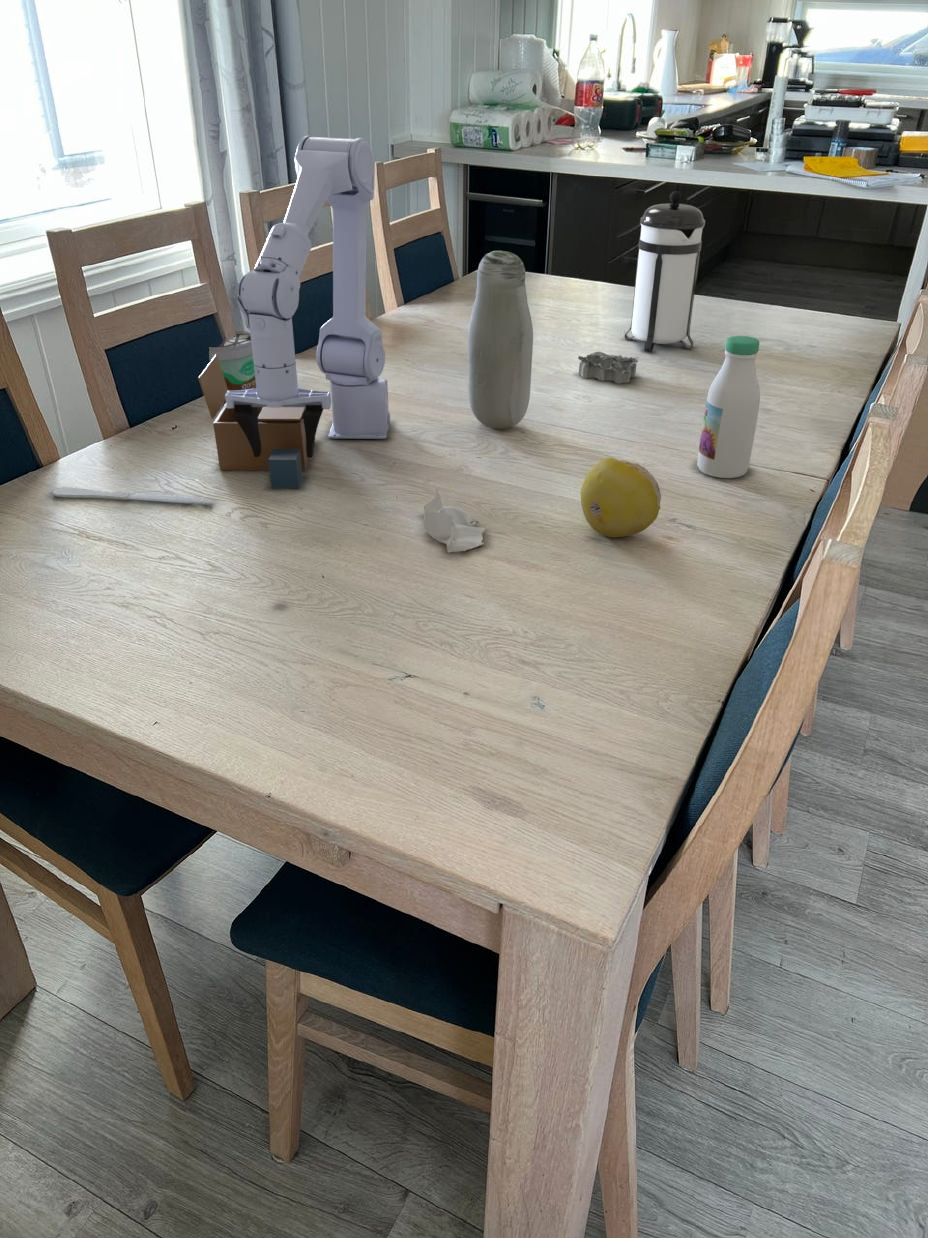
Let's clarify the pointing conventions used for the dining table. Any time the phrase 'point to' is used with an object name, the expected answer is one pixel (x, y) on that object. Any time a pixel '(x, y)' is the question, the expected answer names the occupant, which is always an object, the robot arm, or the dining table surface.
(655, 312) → the coffee press
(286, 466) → the block
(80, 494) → the butter knife
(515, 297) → the grey bottle
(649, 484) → the fruit
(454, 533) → the fabric
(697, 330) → the dining table surface
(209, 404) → the flap
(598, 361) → the egg carton
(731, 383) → the milk bottle
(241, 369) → the food container
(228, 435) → the carton
